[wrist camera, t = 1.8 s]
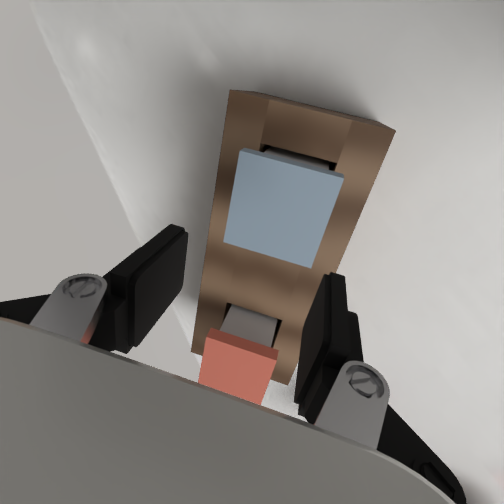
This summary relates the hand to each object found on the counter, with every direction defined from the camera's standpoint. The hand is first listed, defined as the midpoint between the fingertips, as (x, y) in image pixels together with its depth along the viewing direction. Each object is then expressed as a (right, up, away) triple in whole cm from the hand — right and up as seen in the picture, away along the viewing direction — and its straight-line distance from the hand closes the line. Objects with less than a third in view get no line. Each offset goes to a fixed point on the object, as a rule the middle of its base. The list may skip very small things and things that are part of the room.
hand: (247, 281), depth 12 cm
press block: (+3, +3, +23) cm, 23 cm away
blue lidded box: (+4, +8, +15) cm, 17 cm away
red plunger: (+1, -6, +23) cm, 24 cm away
